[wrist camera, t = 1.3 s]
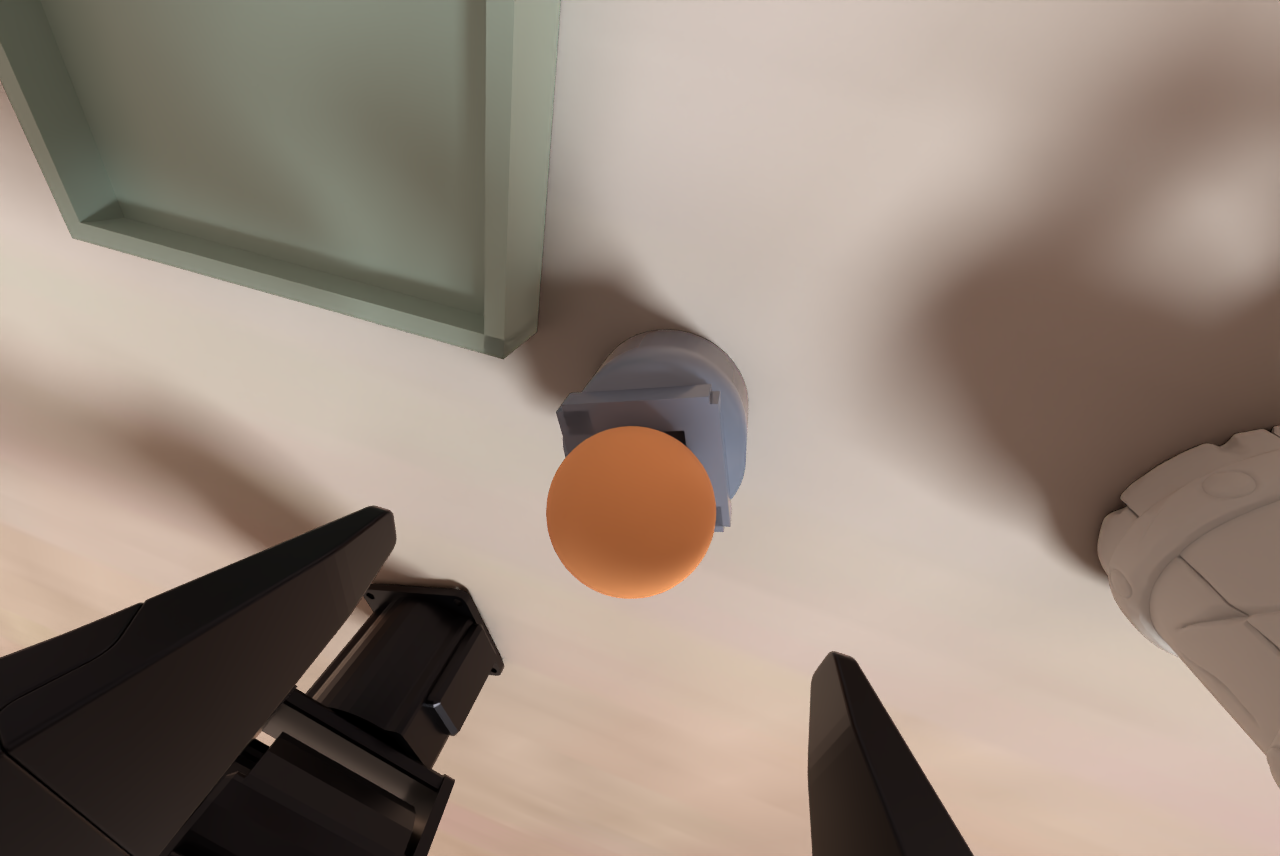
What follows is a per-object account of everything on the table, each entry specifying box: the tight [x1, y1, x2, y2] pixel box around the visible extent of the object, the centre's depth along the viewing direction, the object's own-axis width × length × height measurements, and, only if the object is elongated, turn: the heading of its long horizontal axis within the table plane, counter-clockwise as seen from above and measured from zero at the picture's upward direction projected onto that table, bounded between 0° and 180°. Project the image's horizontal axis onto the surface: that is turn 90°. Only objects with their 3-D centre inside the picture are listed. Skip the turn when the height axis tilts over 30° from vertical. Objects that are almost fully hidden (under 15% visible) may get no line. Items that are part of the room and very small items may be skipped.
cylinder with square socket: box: [556, 330, 748, 532], centre depth 14 cm, size 5×5×4 cm
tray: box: [0, 0, 561, 359], centre depth 12 cm, size 15×11×2 cm
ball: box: [546, 426, 716, 599], centre depth 11 cm, size 4×4×4 cm
